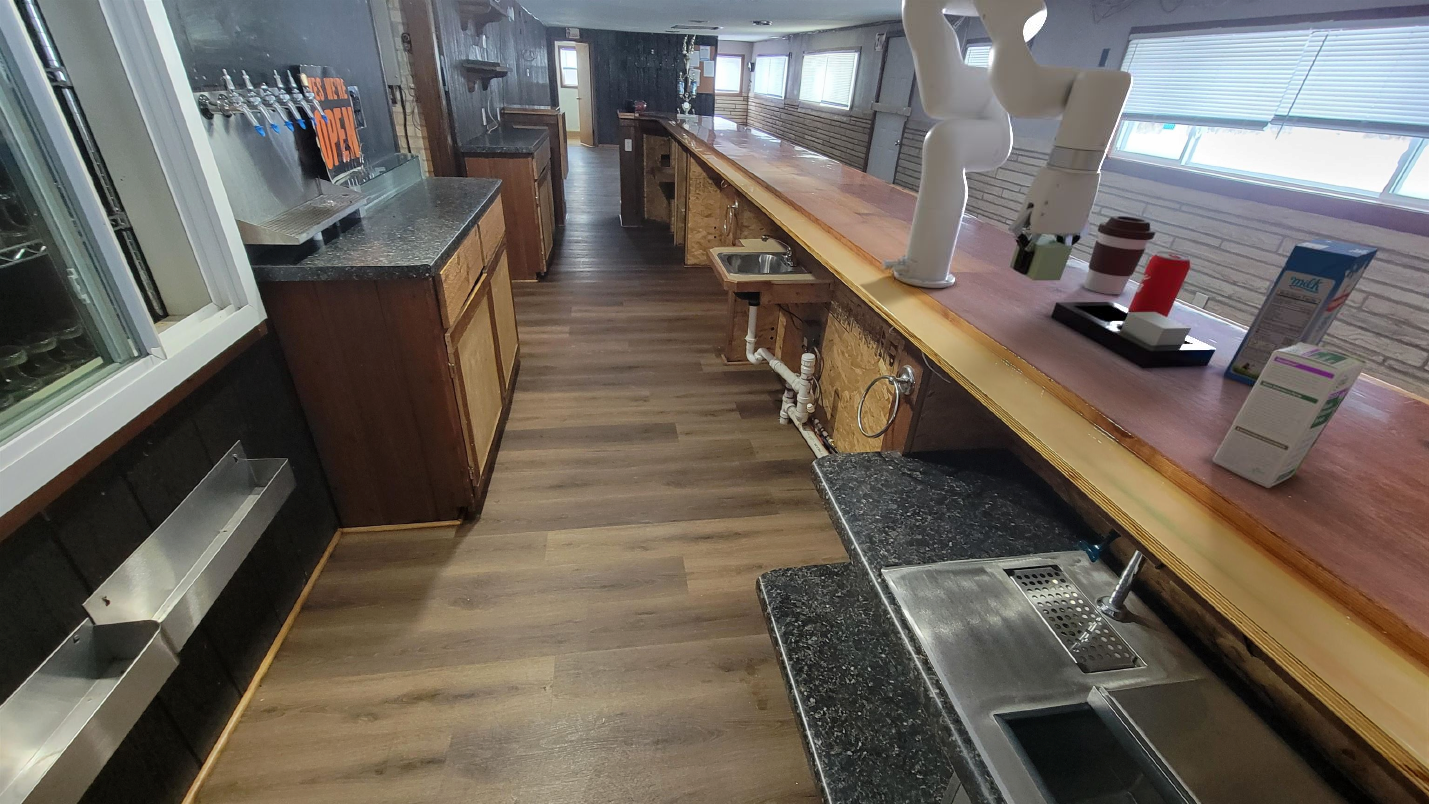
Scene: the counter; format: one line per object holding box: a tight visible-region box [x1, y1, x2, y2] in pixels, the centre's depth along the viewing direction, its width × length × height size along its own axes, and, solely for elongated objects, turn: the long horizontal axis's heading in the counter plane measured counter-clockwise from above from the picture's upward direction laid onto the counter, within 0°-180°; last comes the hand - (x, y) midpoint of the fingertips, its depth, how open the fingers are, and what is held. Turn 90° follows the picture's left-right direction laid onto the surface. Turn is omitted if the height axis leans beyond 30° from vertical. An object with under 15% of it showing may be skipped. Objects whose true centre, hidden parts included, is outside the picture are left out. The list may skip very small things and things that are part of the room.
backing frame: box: [1050, 301, 1217, 369], centre depth 97 cm, size 12×22×3 cm, turn 9°
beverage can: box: [1128, 250, 1191, 318], centre depth 105 cm, size 6×6×12 cm
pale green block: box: [1009, 235, 1073, 281], centre depth 97 cm, size 5×7×6 cm
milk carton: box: [1222, 238, 1380, 387], centre depth 82 cm, size 10×6×20 cm, turn 122°
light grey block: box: [1121, 312, 1192, 346], centre depth 92 cm, size 5×7×6 cm
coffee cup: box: [1083, 215, 1157, 295], centre depth 119 cm, size 10×10×15 cm
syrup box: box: [1212, 342, 1367, 489], centre depth 61 cm, size 6×6×14 cm
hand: (1034, 271), depth 98 cm, fingers closed on pale green block, 5 cm apart
